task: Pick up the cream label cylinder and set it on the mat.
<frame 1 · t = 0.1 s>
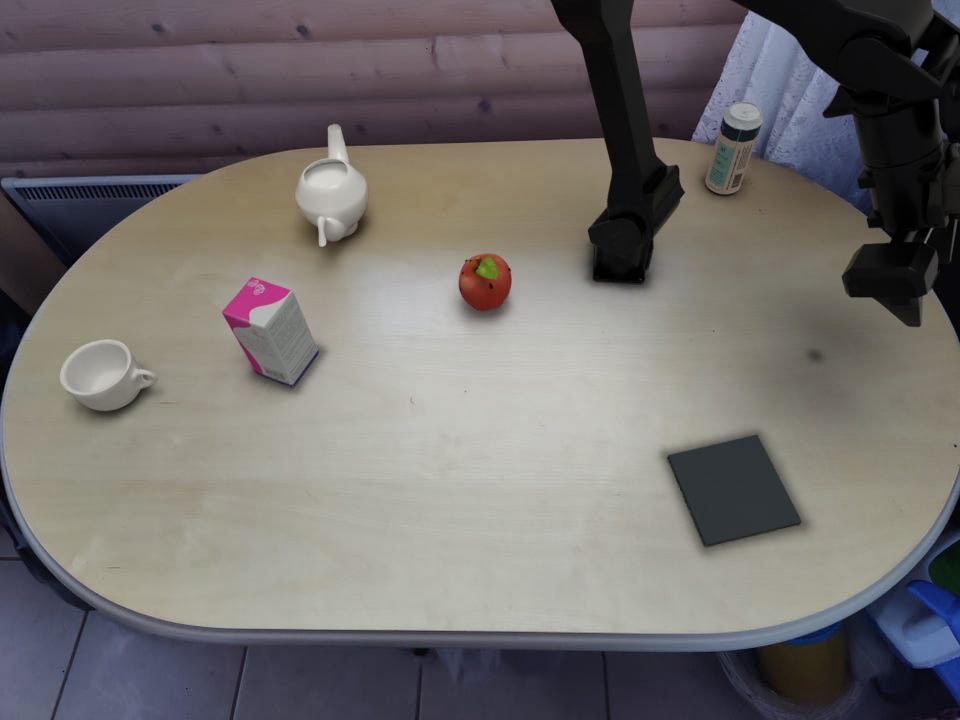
hand: (929, 293, 64), 15 cm above the table, tool tilted 35°, fingers open, 9 cm apart
teapot: (342, 226, 95), on the table
mat: (731, 489, 70), on the table
teacup: (128, 392, 81), on the table
cream label cylinder: (721, 186, 95), on the table
supplement box: (288, 362, 82), on the table
apple: (488, 304, 85), on the table
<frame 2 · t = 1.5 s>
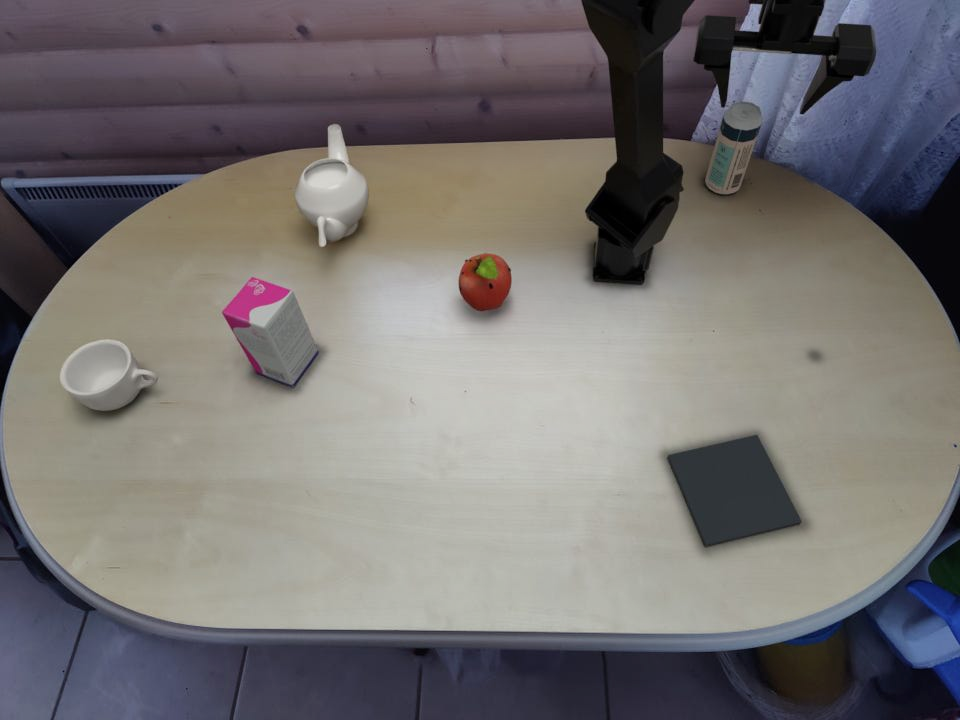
hand: (761, 108, 84), 13 cm above the table, tool pointing down, fingers open, 9 cm apart
nothing on the table moved.
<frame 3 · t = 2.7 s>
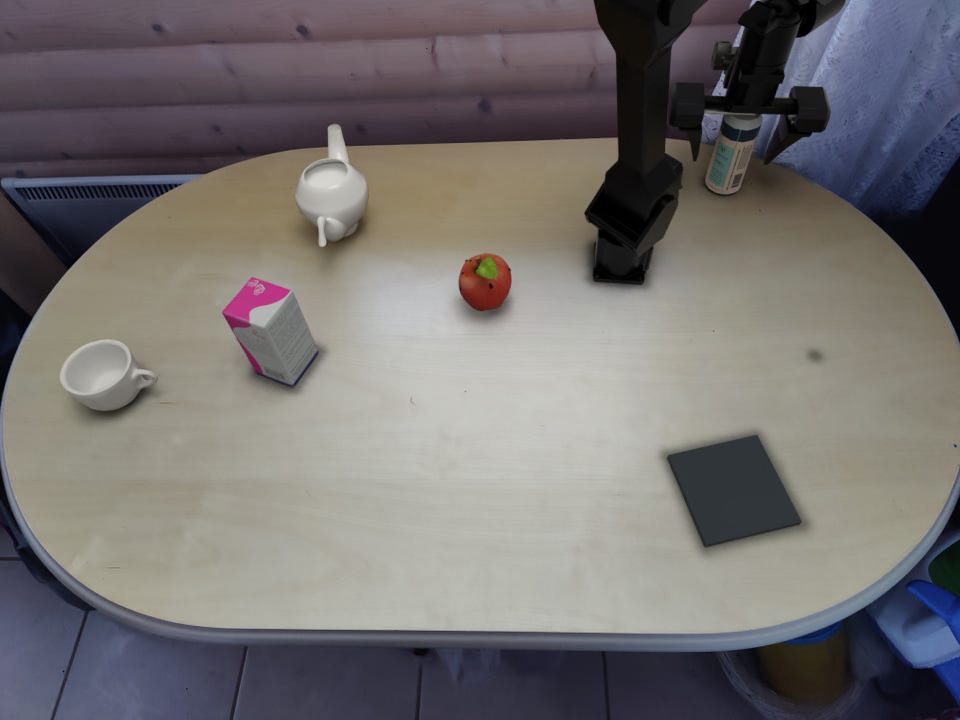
hand: (729, 161, 91), 4 cm above the table, tool pointing down
cream label cylinder: (721, 186, 95), on the table, touching gripper
everything else where it was.
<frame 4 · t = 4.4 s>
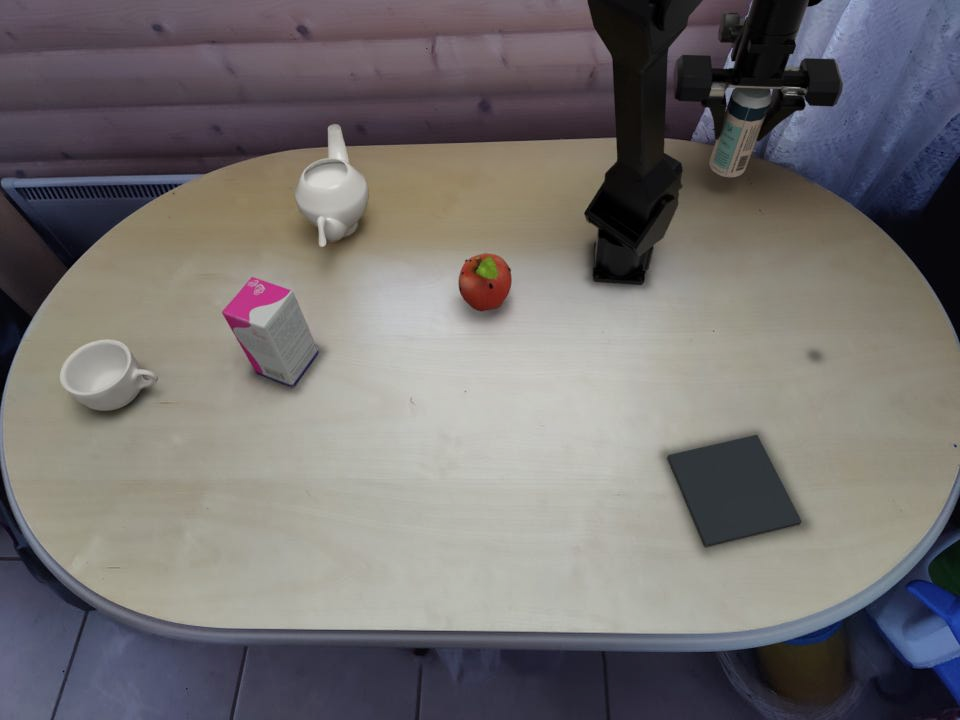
hand: (736, 138, 89), 8 cm above the table, tool pointing down, fingers closed on cream label cylinder, 5 cm apart
cream label cylinder: (725, 169, 93), point 3 cm above the table, touching gripper
everything else where it was.
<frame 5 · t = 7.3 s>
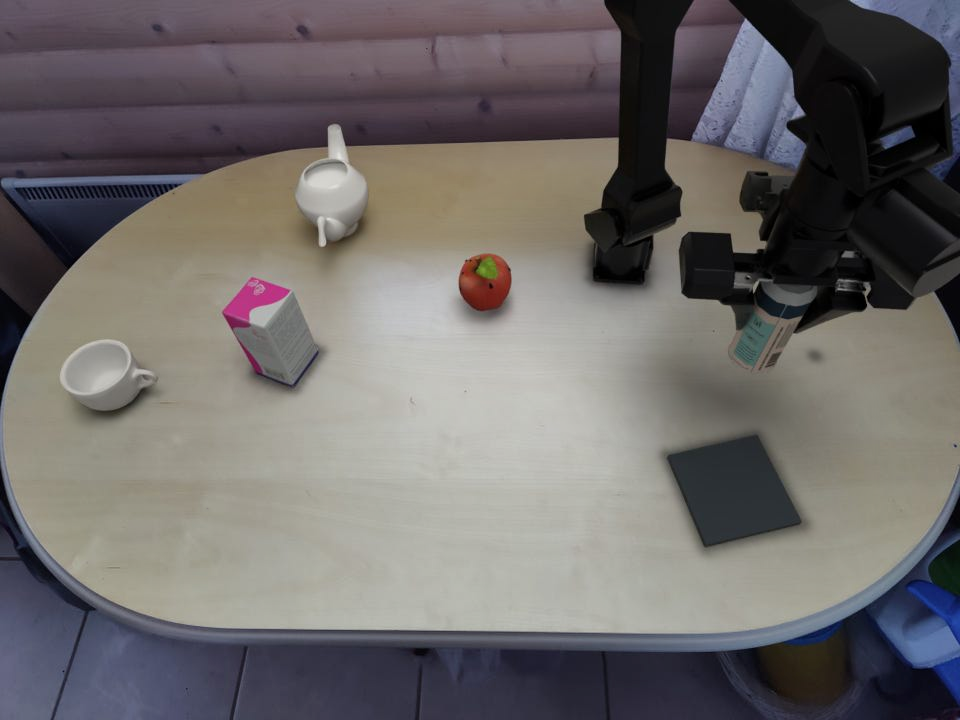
hand: (765, 328, 65), 13 cm above the table, tool pointing down, fingers closed on cream label cylinder, 5 cm apart
cream label cylinder: (750, 358, 69), point 8 cm above the table, touching gripper
everything else where it was.
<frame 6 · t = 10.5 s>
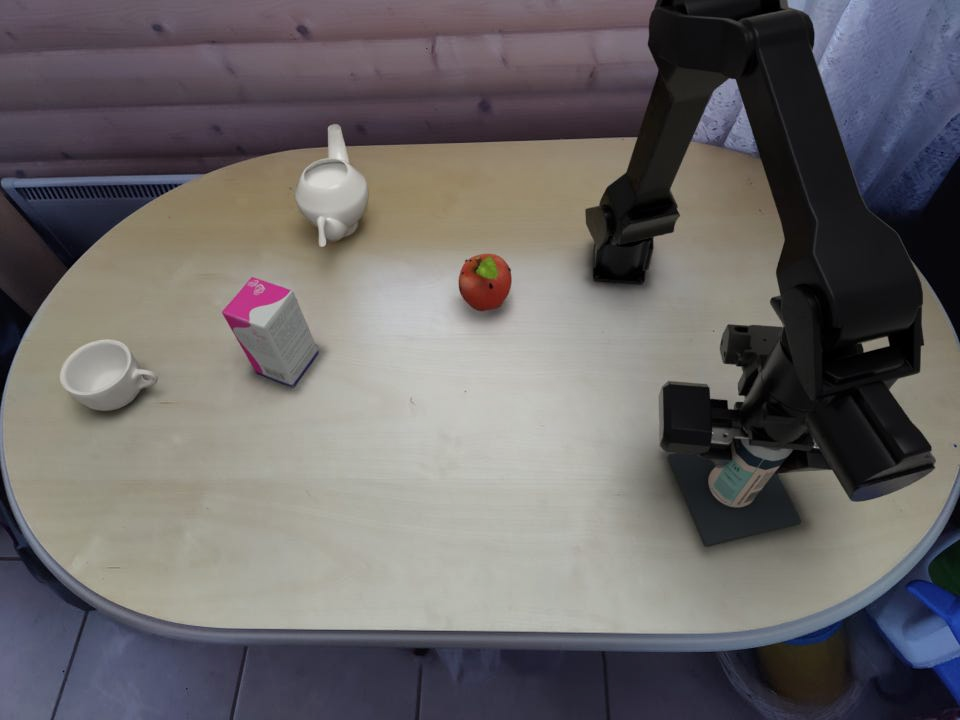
hand: (745, 466, 66), 5 cm above the table, tool pointing down, fingers closed on cream label cylinder, 5 cm apart
cream label cylinder: (730, 488, 69), resting on mat, touching gripper
everything else where it was.
when the fingers open (5 cm above the table, at t = 10.6 s): cream label cylinder stays where it is, resting on mat.
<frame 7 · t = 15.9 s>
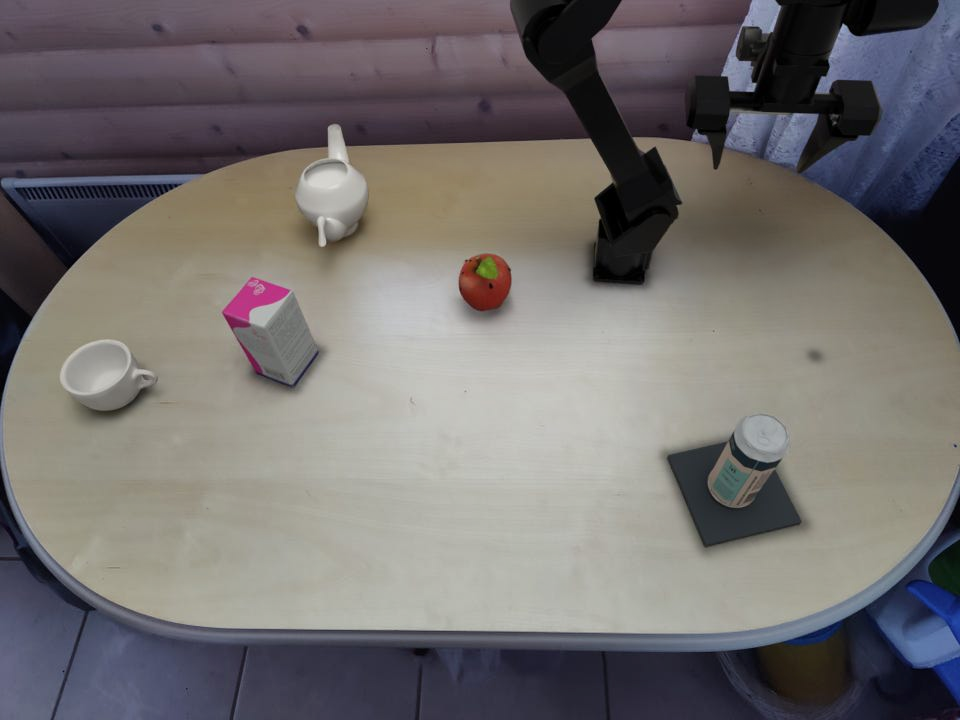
hand: (756, 169, 78), 13 cm above the table, tool pointing down, fingers open, 9 cm apart
cream label cylinder: (730, 488, 70), resting on mat
everything else where it was.
at the end: cream label cylinder 0.2 cm off-centre on the mat, point 0.4 cm above the mat's base; cream label cylinder tilted 0°; the gripper is holding nothing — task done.
